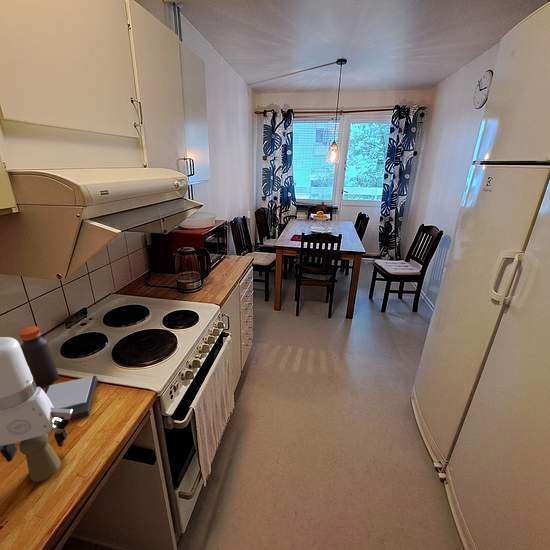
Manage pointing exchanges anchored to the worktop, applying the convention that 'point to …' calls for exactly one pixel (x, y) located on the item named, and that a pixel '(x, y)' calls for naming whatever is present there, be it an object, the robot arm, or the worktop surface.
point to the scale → (73, 396)
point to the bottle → (38, 357)
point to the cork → (40, 457)
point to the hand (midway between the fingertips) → (38, 448)
